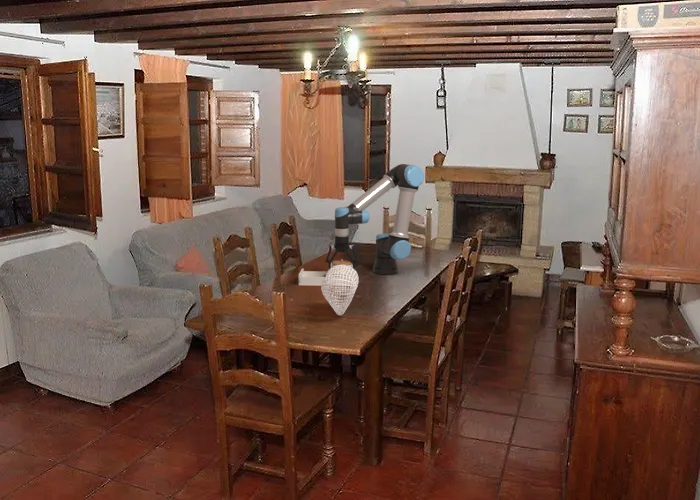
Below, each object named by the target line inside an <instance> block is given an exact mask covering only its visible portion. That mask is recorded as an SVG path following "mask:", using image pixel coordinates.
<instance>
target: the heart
mask: <svg viewBox="0 0 700 500" xmlns="http://www.w3.org/2000/svg"><path fill="white" fill-rule="evenodd" d="M338 266H340V267H338ZM342 266H343V267H342ZM335 267H336V268H335ZM347 267H348V268H347ZM339 268H340V269H339ZM341 268H343V269H341ZM344 268H346V270H345V269H344ZM331 269H332V270H331ZM331 269H330V270H331V271H332V272H331V271H330V270H329V271H328V270H327V271H328V272H327V274H328V275H327V274H326V277H324V279H325V280H324V279H323V281H322V284H321V293H322V295H323V297H324V298H325V300H326V301H327V302H328V304H329V305H330V307H331V308H332V310H333V312H335V313H336V315H337V316H343V315H344V313H346V311H347V309H348V308H349V306H350V305H351V302H352V301H353V298H354V296H355V293H356V290H357V288H358V286H359V275H358V272H357V270H356V269H353V268H352V267H350V266H347V265H337V266H334V267H332V268H331ZM334 269H335V270H334ZM347 269H348V270H347ZM350 269H351V270H350ZM336 270H338V271H336ZM349 270H350V271H349ZM334 271H335V272H334ZM341 271H343V272H341ZM352 271H353V272H352ZM330 272H331V273H330ZM339 272H341V273H339ZM345 272H346V273H345ZM348 272H349V273H350V275H349V273H348ZM329 273H330V274H329ZM344 273H345V274H344ZM352 273H353V274H352ZM332 274H334V275H332ZM336 274H337V275H336ZM339 274H340V275H339ZM341 275H343V276H341ZM344 275H346V276H344ZM352 275H353V276H352ZM336 276H337V277H338V279H335V278H336ZM339 276H340V277H343V279H339ZM347 276H349V277H347ZM354 276H355V277H354ZM332 277H333V279H332ZM344 277H346V279H344ZM329 278H330V279H329ZM347 278H349V279H347ZM350 278H351V279H350ZM330 280H331V281H333V284H332V283H331V284H330ZM335 280H338V283H337V281H336V284H334V281H335ZM339 280H342V283H340V281H339ZM349 280H350V281H351V282H350V281H349ZM344 281H345V283H344ZM352 281H353V282H354V283H352ZM347 282H348V283H347ZM349 282H350V284H349ZM346 284H348V285H346ZM332 285H333V286H332ZM334 285H336V286H334ZM337 285H338V286H337ZM340 285H342V286H340ZM344 285H345V286H344Z"/></svg>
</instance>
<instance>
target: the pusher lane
mask: <svg viewBox="0 0 700 500" xmlns="http://www.w3.org/2000/svg"><path fill="white" fill-rule="evenodd" d="M304 269H305V268H301V270H300V272H299V273H298V286H321V284H322V281H323V279H324V275H326V274H327V271H328V270H327V271H322V270H321V271H320V270H319V271H315V270H314V271H313V270H312V271H311V270H304ZM332 275H334V274H332ZM349 275H350V273H349ZM352 276H353V275H352ZM347 277H349V276H347ZM354 277H355V276H354ZM329 279H330V278H329ZM332 279H333V277H332ZM335 279H338V277H337V276H336V278H335ZM339 279H343V277H339ZM344 279H346V277H344ZM347 279H349V278H347ZM350 279H351V278H350ZM324 280H325V279H324ZM336 281H337V283H338V280H335V281H334V284H336ZM339 281H340V283H342V280H339ZM349 281H350V280H349ZM350 282H351V281H350ZM350 282H349V284H350ZM331 283H332V284H333V281H331V280H330V284H331ZM344 283H345V281H344ZM347 283H348V282H347ZM352 283H354V282H353V281H352ZM346 285H348V284H346ZM340 286H341V287H342V285H340ZM332 287H333V285H332ZM334 287H336V285H334ZM337 287H338V285H337ZM344 287H345V285H344Z"/></svg>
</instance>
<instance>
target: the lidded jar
mask: <svg viewBox="0 0 700 500" xmlns="http://www.w3.org/2000/svg"><path fill="white" fill-rule="evenodd" d="M331 263H332V267H334V266H337V265H347V266H350V267H351V263H352V261H351V260H347V259H343V258H341V259H338V260H332V262H331ZM338 267H340V266H338ZM342 267H343V266H342ZM335 268H336V267H335ZM347 268H348V267H347ZM339 269H340V268H339ZM341 269H343V268H341ZM344 269H345V270H346V268H344ZM334 270H335V269H334ZM347 270H348V269H347ZM350 270H351V269H350ZM350 270H349V271H350ZM336 271H338V270H336ZM334 272H335V271H334ZM341 272H343V271H341ZM341 272H339V273H341ZM345 273H346V272H345ZM345 273H344V274H345ZM348 273H349V272H348ZM336 275H337V274H336ZM339 275H340V274H339ZM341 276H343V275H341ZM344 276H346V275H344ZM339 277H340V276H339Z"/></svg>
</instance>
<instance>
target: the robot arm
mask: <svg viewBox="0 0 700 500" xmlns="http://www.w3.org/2000/svg"><path fill="white" fill-rule="evenodd" d="M424 180H425V173H424V171H423V169H422V168H421V167H420V166H418V165H414V164H406V163H400V164H398V165H396V166H394V167H392V168H391V169H390V170H389V171H386V173H385V174H384V175H383V177H382V178H381V179H380V180H379V181H377V182H376V183H375V184H374V185H372V186H371V187H370V188H369V189H367V190H366V191H365V192H364V193H363V194H361V195H360V196H359V197H357V199H355V200H353V202H352V203H350V204H349V205H348V206H344V207H342V206H340V207H336V208H335V210H334V235H335V236H334V244H329V246H328V248H329V249H328V253H327V255H326V258H325V263H328V269H331V268H332V262H333V261H334V259H335V258H336V255H337V254H338V253H343V254H346V255H347V257H348V258H349V261H351V262H352V263H351V267H352V268H353V269H354V270H356V264H357V263H359V259H358V256H357V253H356V250H355V244H352V245H350V243H349V239H350V238H349V237H350V236H349V233H350V232H349V228H350V226H349V225H363V224H364V225H365V224H367V223H369V221H370V213H369V211H368V210H366V209H367V208H369V207H370V206H372V204H373V203H375V202H376V201H377V200H378V199H379V198H381V197H382V196H384V195H385V193H387V192H389V190H391V189H396V187H397V188H398V190H399V194H398V198H397V205H396V211H395V217H394V223H393V227H392V232H390V233H387V232H386V233H378V234H377V235H376V237H375V261H374V264H373V266H372V272H373V273H375V274H377V275H378V274H379V275H393V274H398V273H399V266H398V263H397V260H399V261H402V260H406V259H407V258H408V257H409V256H410V254H411V250H412V247H411V246H412V245H411V244H410V242H409V241H410V235H409V234H408V233H409V229H410V228H409V227H410V223H411V216H412V212H413V211H412V210H413V206H414V205H413V204H414V200H415V199H414V198H415V195H416V194H415V193H417V192H418V191H419V188H420V186H421V185H422V184H423V182H424ZM334 249H335V251H334V252H333V254H332V250H334ZM349 249H350V250H351V251H352V254H353V256H352V255H351V253H350V251H349ZM331 254H332V256H331V257H330V255H331ZM329 258H330V259H329ZM331 270H332V269H331ZM331 272H332V271H331ZM352 272H353V271H352ZM352 274H353V273H352Z"/></svg>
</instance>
